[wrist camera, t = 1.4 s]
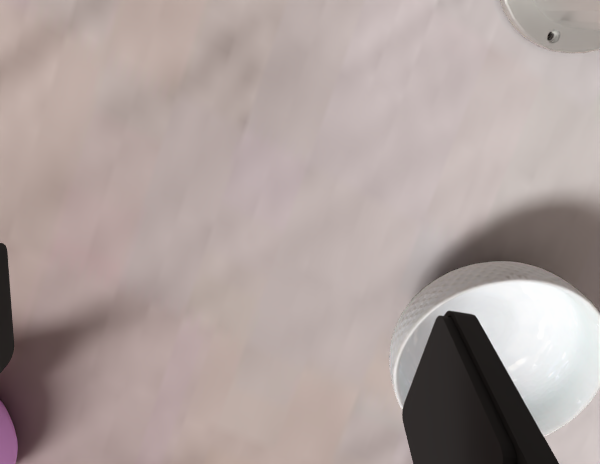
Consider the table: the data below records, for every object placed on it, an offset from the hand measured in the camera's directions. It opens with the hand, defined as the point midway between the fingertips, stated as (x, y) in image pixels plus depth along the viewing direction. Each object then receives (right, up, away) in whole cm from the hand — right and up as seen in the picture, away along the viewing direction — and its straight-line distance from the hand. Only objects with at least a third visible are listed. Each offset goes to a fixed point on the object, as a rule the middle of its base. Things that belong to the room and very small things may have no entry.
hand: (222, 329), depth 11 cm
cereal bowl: (+17, -6, +34) cm, 38 cm away
